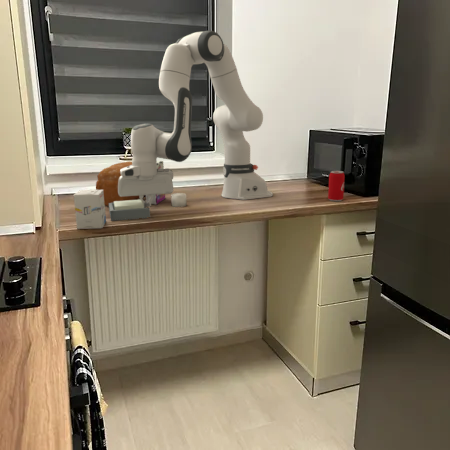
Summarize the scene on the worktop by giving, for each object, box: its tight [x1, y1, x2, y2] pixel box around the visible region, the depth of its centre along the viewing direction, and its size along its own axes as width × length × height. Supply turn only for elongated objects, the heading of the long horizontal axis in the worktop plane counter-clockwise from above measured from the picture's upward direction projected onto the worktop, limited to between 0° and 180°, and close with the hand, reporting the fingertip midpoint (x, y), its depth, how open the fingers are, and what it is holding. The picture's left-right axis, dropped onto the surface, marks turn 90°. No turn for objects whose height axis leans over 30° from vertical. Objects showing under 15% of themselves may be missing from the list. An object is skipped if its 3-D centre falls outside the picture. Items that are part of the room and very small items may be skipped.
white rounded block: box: [170, 192, 187, 208], centre depth 181 cm, size 6×6×4 cm
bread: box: [95, 161, 145, 207], centre depth 191 cm, size 14×26×16 cm, turn 168°
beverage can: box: [327, 170, 346, 202], centre depth 186 cm, size 6×6×12 cm
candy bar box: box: [145, 160, 166, 205], centre depth 186 cm, size 11×5×16 cm, turn 168°
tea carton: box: [114, 199, 144, 210], centre depth 165 cm, size 10×9×5 cm
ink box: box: [73, 189, 107, 230], centre depth 151 cm, size 9×8×12 cm
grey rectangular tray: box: [108, 200, 151, 222], centre depth 166 cm, size 14×14×4 cm
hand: (146, 206), depth 168 cm, fingers closed
